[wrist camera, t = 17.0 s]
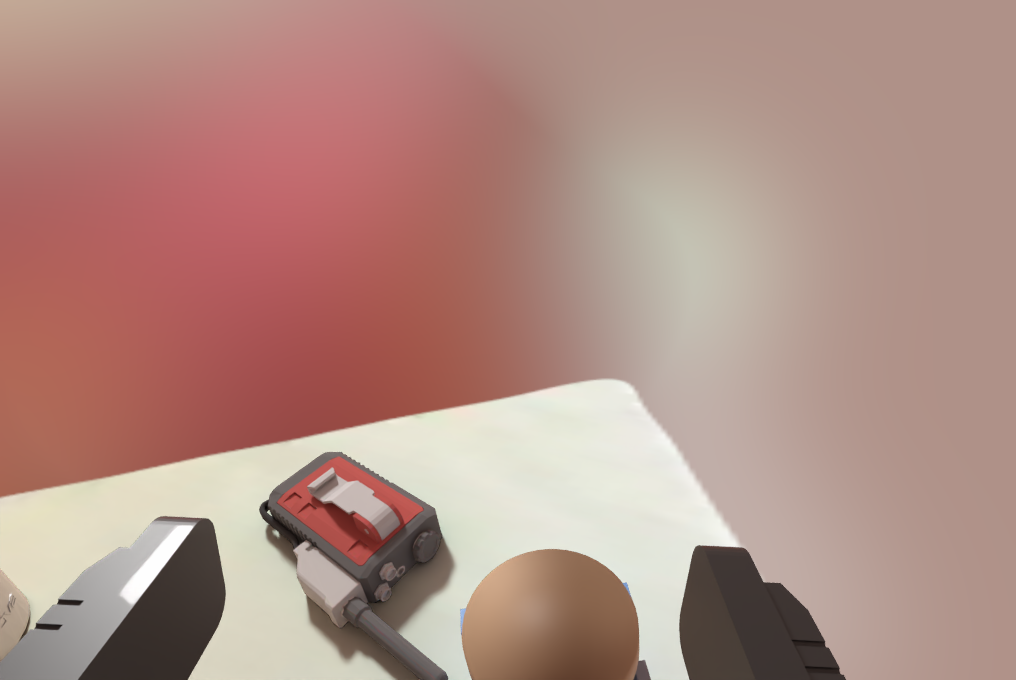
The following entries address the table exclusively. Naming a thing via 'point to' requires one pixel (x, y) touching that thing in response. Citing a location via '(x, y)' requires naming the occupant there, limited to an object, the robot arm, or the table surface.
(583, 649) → the cord spool
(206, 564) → the robot arm
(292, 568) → the table surface
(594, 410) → the table surface
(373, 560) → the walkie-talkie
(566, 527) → the table surface
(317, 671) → the table surface
